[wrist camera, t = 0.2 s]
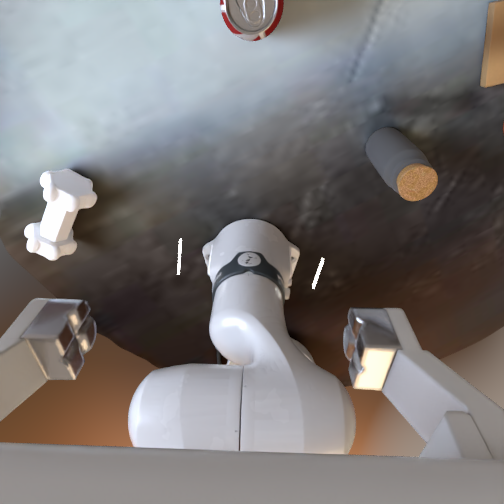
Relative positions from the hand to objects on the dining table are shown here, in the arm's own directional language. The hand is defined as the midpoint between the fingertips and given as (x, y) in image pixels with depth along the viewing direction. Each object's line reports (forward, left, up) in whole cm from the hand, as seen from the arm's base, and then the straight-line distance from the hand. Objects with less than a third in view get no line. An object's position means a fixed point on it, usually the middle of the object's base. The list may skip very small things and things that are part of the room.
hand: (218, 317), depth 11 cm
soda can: (+8, 0, -48) cm, 49 cm away
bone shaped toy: (-22, +33, -48) cm, 62 cm away
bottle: (-10, -21, -48) cm, 53 cm away
